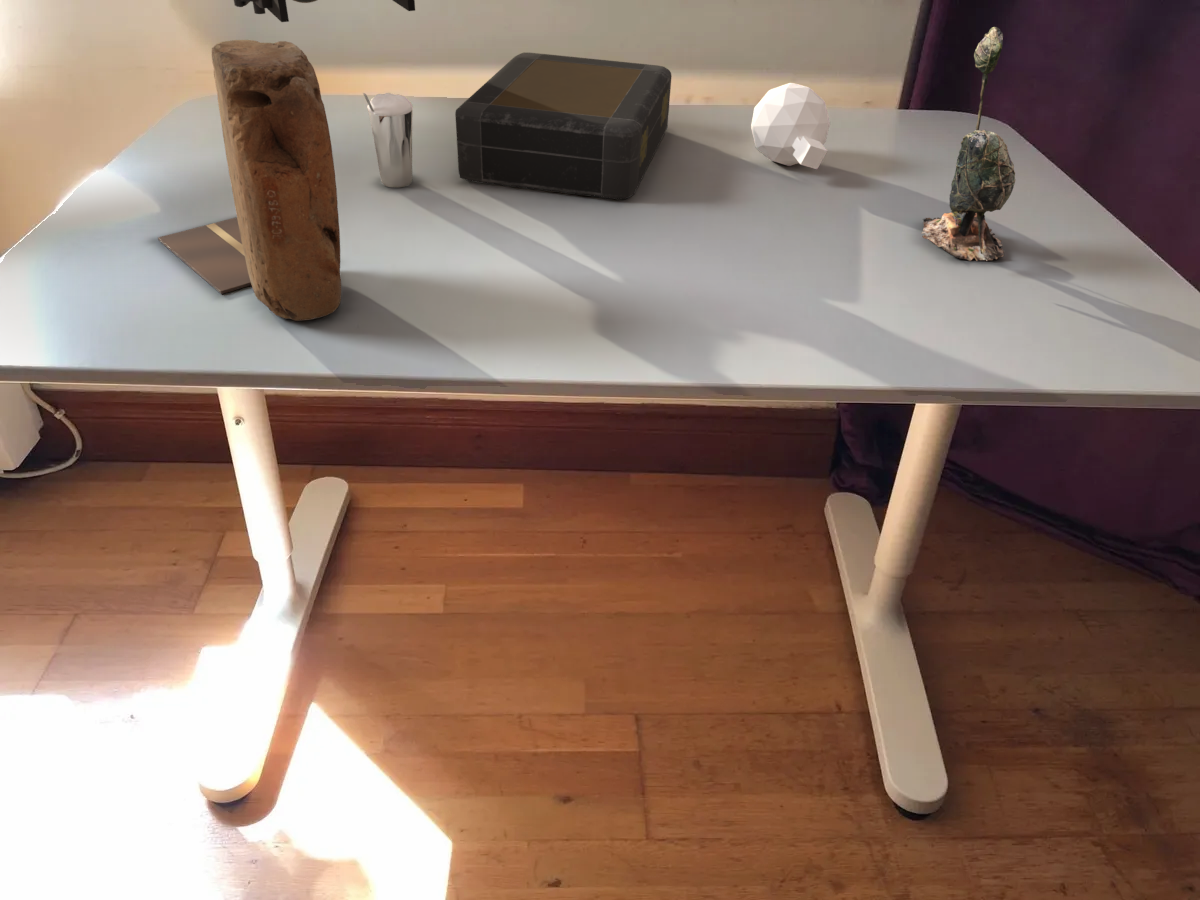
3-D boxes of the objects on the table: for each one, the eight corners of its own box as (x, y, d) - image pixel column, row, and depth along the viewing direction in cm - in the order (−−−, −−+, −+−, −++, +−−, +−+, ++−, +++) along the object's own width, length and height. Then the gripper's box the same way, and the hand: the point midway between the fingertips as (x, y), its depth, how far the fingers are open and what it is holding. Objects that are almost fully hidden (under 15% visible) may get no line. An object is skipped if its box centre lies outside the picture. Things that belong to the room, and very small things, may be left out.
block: (245, 272, 84) (200, 33, 71) (331, 260, 87) (302, 28, 74) (264, 334, 76) (218, 80, 64) (358, 319, 79) (331, 72, 67)
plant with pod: (917, 264, 92) (974, 45, 79) (920, 219, 100) (972, 15, 88) (1005, 278, 90) (1078, 56, 78) (1000, 231, 99) (1065, 25, 87)
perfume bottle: (727, 133, 114) (762, 183, 106) (763, 59, 108) (803, 106, 100) (787, 151, 117) (825, 200, 109) (824, 80, 112) (868, 127, 104)
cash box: (514, 111, 123) (512, 48, 118) (669, 128, 120) (674, 65, 115) (448, 181, 103) (443, 109, 99) (631, 204, 100) (636, 131, 96)
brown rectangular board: (158, 240, 89) (157, 236, 89) (258, 214, 95) (257, 210, 95) (221, 294, 81) (220, 290, 81) (326, 262, 87) (326, 258, 87)
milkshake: (360, 184, 102) (349, 88, 96) (399, 171, 105) (391, 77, 99) (388, 196, 100) (378, 98, 94) (427, 182, 103) (420, 87, 97)
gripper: (398, -11, 121) (462, 29, 107) (193, 5, 111) (232, 52, 97) (392, -78, 117) (458, -45, 102) (178, -68, 107) (217, -30, 92)
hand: (348, 2), depth 99 cm, fingers open, 13 cm apart
